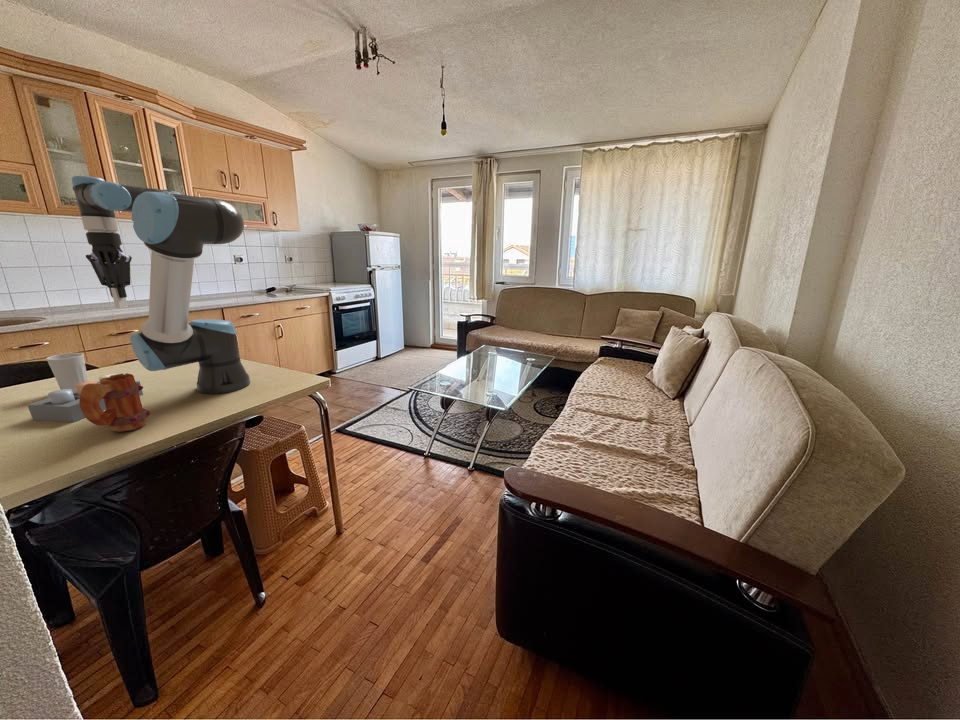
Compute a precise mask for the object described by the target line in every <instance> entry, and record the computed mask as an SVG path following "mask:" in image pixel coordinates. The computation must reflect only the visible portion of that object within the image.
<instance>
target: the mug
mask: <svg viewBox="0 0 960 720" xmlns="http://www.w3.org/2000/svg"><path fill="white" fill-rule="evenodd" d="M116 374H117V373H116ZM135 381H136V379H135V376H134V375H133V374H131V373H118V374H117V375H111V376H110V377H109V378H108V377H106V378H102V379H101V380H100V384H98V383H89V384H86V385H85V386H84V387H83V388H82V391H81V394H80V408H81V411H82V413H83V414H84V416H85V419H86V421H89V422H90V423H92V424H93V425H95V426H100V427H108V426H109V428H110V431H112V432H119V433H120V432H122V433H123V432H129V431H134V430H138V429H140V428H142V427H144V426H145V425H146V422H147V421H146V420H147V419H146V418H147V417H149V416H150V415H151V411H149V410H147V409H146V408H143V403H142V401H141V397H140V396H141V395H140V396H139V391H140V390H142V391H143V389H144V386H143V385H141V386H140V385H139V384H138V383H136V382H135ZM101 399H104V403H105V406H106V409H105V410H102V409H101V407H100V405H99V402H100V401H101Z"/></svg>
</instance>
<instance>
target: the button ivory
mask: <svg viewBox="0 0 960 720" xmlns="http://www.w3.org/2000/svg"><path fill="white" fill-rule="evenodd" d="M111 375H117V373H112V374H105V375H100V376H98V380H99V381H100V380H101V379H102V378H106V377H108V378H109V377H110V376H111ZM99 381H98V382H99Z"/></svg>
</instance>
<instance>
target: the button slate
mask: <svg viewBox="0 0 960 720" xmlns="http://www.w3.org/2000/svg"><path fill="white" fill-rule="evenodd" d="M47 395H48V398H50V401H51V404H52V405H63V404H66V403H69V402H72V401H74V400H75V398H74V395H73V392H72V389H62V390H61V389H57V390H54V391H50V392H48V394H47Z"/></svg>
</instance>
